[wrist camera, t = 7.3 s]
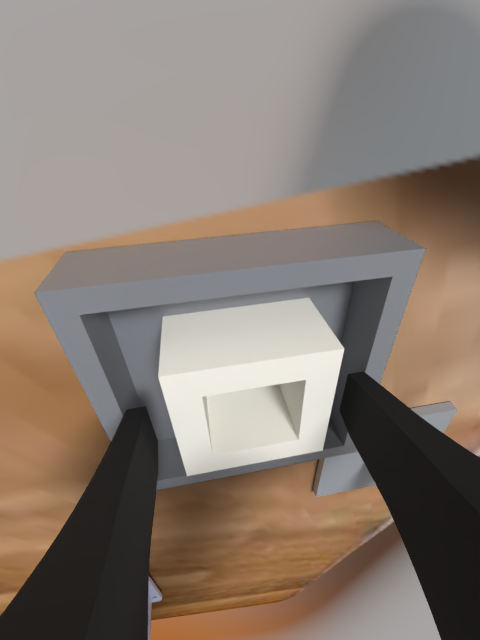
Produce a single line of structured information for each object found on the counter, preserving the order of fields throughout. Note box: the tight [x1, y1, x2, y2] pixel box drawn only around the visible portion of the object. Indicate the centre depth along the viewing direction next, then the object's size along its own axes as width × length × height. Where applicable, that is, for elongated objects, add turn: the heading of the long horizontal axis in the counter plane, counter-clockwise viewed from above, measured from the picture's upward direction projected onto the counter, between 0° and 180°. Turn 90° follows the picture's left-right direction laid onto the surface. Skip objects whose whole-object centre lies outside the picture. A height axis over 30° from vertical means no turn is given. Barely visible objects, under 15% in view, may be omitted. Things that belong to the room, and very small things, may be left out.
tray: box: [34, 221, 426, 490], centre depth 12 cm, size 11×11×3 cm
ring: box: [158, 298, 344, 476], centre depth 11 cm, size 6×6×3 cm
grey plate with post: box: [313, 401, 457, 497], centre depth 18 cm, size 8×8×5 cm
